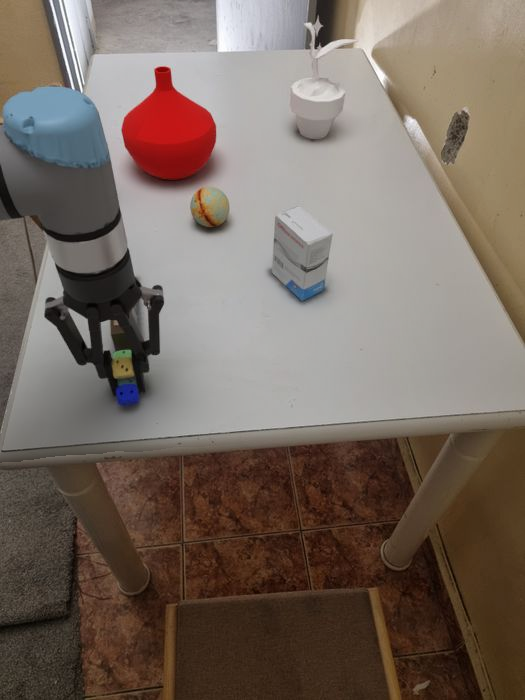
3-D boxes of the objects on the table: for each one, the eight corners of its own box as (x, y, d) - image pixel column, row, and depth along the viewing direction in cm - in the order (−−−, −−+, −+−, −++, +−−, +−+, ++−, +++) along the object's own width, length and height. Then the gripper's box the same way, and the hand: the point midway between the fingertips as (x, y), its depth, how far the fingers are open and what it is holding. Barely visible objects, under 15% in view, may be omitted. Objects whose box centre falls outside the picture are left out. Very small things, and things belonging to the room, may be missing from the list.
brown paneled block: (118, 361, 74) (110, 333, 70) (116, 281, 85) (108, 252, 80) (139, 359, 75) (132, 331, 70) (134, 279, 85) (128, 250, 81)
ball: (235, 216, 97) (234, 183, 92) (222, 238, 93) (220, 205, 87) (200, 208, 98) (197, 175, 93) (185, 230, 94) (182, 196, 89)
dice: (141, 411, 69) (133, 383, 64) (121, 414, 69) (112, 386, 64) (137, 365, 74) (129, 335, 69) (118, 367, 73) (109, 338, 69)
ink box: (324, 290, 85) (334, 233, 76) (300, 302, 83) (308, 244, 74) (293, 261, 89) (299, 203, 80) (270, 272, 87) (273, 213, 78)
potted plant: (284, 143, 114) (293, 15, 95) (291, 118, 122) (300, -6, 102) (341, 149, 113) (362, 21, 94) (344, 124, 121) (364, 0, 101)
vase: (201, 137, 115) (194, 43, 100) (230, 181, 104) (228, 83, 90) (119, 153, 110) (100, 56, 95) (141, 200, 99) (124, 100, 85)
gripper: (166, 223, 56) (183, 357, 75) (13, 237, 54) (70, 372, 72) (172, 268, 52) (189, 400, 70) (5, 286, 49) (68, 417, 67)
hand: (128, 386), depth 71 cm, fingers closed on dice, 3 cm apart
